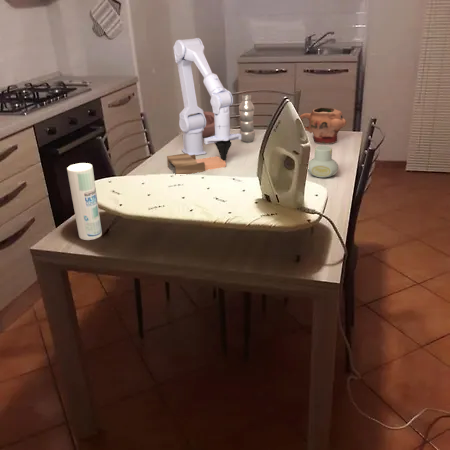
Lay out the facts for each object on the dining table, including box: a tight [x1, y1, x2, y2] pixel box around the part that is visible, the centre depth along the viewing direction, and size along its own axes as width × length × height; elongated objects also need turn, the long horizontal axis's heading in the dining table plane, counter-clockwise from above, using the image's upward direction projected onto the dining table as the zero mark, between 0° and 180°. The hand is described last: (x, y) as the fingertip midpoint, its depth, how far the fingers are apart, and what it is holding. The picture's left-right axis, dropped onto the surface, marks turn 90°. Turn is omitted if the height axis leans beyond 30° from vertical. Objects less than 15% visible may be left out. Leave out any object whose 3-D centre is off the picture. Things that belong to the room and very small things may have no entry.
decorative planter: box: [299, 107, 347, 145], centre depth 213 cm, size 20×12×14 cm, turn 78°
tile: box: [196, 155, 227, 171], centre depth 191 cm, size 8×10×2 cm
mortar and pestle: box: [202, 111, 215, 138], centre depth 226 cm, size 12×12×12 cm
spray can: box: [66, 162, 103, 241], centre depth 136 cm, size 6×6×20 cm
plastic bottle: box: [238, 93, 256, 143], centre depth 215 cm, size 6×7×20 cm
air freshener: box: [307, 145, 339, 179], centre depth 176 cm, size 11×8×10 cm
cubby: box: [166, 153, 206, 175], centre depth 188 cm, size 11×11×4 cm
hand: (223, 159), depth 193 cm, fingers closed
